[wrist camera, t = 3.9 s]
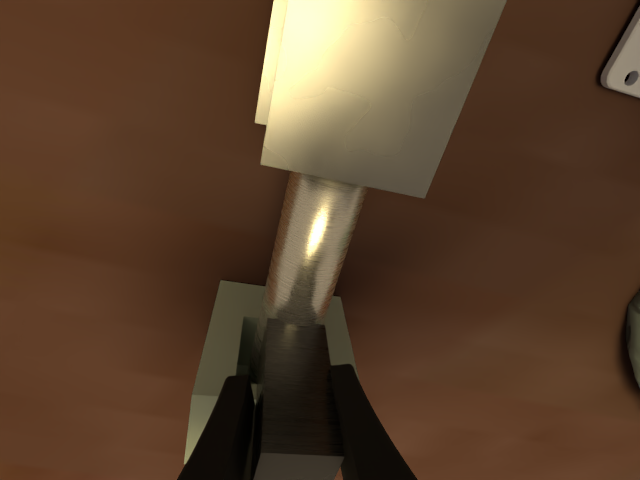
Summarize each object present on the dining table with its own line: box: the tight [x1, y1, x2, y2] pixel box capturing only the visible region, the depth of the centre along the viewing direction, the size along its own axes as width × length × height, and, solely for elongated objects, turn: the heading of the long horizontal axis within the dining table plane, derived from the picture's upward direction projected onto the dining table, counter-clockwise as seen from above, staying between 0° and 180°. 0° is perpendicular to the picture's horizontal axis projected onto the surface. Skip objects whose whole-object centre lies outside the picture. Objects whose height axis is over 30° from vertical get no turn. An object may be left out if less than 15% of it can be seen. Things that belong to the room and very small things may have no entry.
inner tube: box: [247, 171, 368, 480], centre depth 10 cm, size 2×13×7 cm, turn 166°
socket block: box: [184, 280, 360, 464], centre depth 16 cm, size 6×4×6 cm, turn 76°
